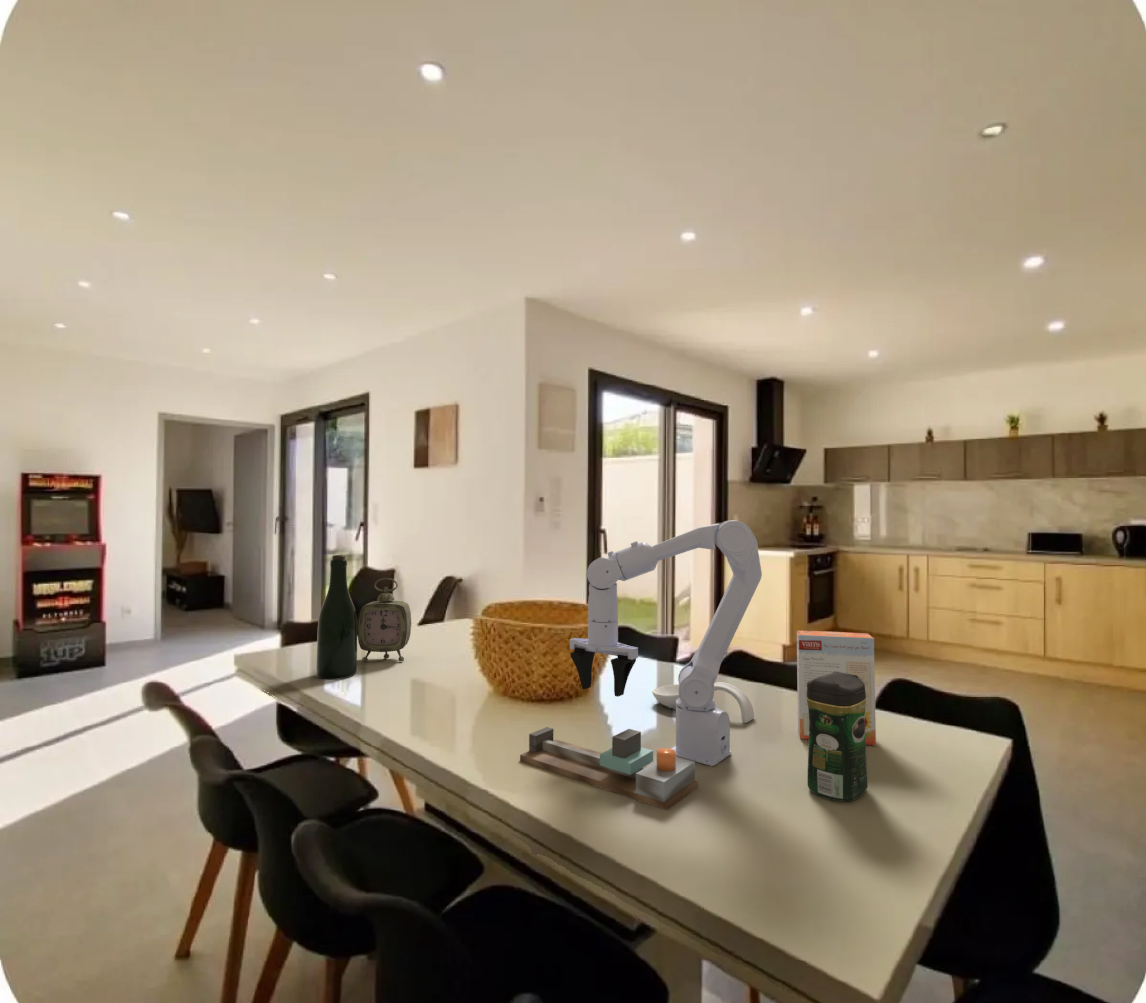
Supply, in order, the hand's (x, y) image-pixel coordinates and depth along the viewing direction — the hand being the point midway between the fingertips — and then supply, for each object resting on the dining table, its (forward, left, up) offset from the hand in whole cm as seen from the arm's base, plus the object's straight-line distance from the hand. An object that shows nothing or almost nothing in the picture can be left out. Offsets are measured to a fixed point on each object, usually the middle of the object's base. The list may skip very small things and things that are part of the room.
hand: (602, 691), depth 118 cm
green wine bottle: (+88, +3, -11) cm, 88 cm away
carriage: (-12, +10, -8) cm, 17 cm away
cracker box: (-33, -33, -11) cm, 48 cm away
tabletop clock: (+93, -16, -11) cm, 95 cm away
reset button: (-19, +10, -7) cm, 23 cm away
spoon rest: (-4, -33, -11) cm, 35 cm away
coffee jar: (-40, -8, -11) cm, 43 cm away
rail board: (-7, +10, -11) cm, 16 cm away
